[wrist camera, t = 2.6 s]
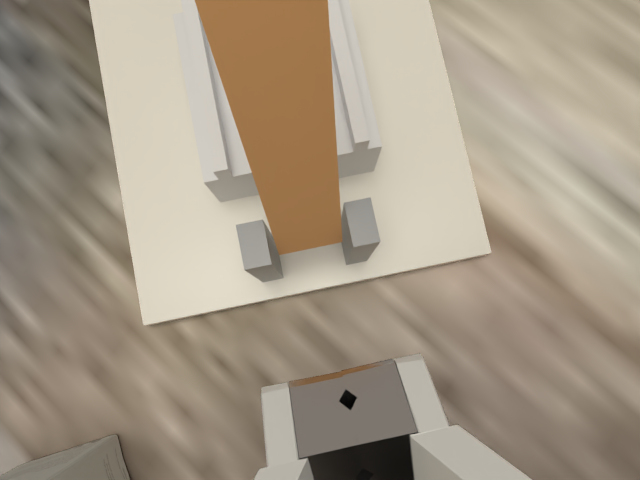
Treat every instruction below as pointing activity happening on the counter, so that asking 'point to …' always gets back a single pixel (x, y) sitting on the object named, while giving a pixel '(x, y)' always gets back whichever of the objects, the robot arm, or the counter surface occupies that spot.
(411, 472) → the robot arm
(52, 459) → the skincare box
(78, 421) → the counter surface
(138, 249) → the socket board
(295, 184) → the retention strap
